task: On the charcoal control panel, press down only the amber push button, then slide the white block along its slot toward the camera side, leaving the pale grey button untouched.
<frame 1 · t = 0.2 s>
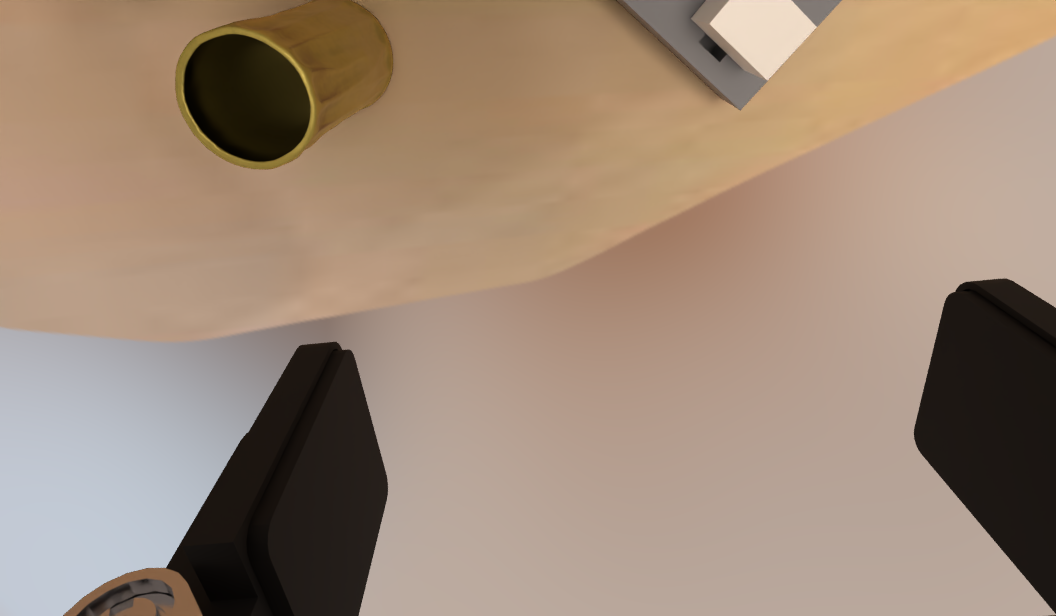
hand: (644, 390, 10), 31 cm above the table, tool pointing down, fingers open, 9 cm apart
white block: (742, 20, 32), point 4 cm above the table, slide at 0.0 cm
vase: (340, 55, 36), on the table
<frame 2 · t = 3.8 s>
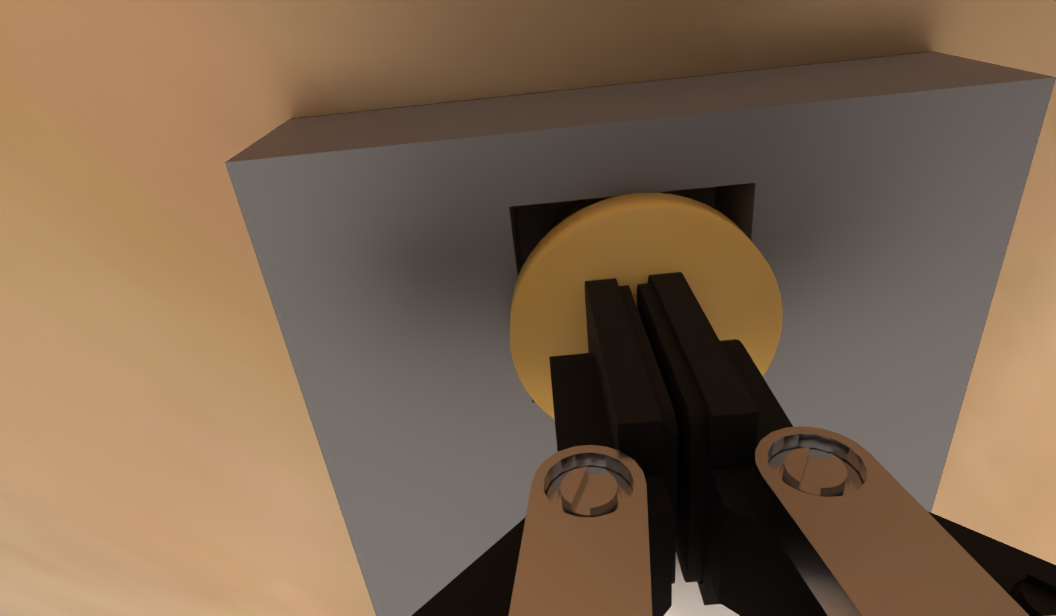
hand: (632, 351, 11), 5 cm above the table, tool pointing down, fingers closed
amber button: (631, 297, 13), point 3 cm above the table, slide at 1.3 cm, touching gripper
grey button: (646, 586, 15), point 5 cm above the table, slide at 0.0 cm
panel: (619, 454, 19), on the table
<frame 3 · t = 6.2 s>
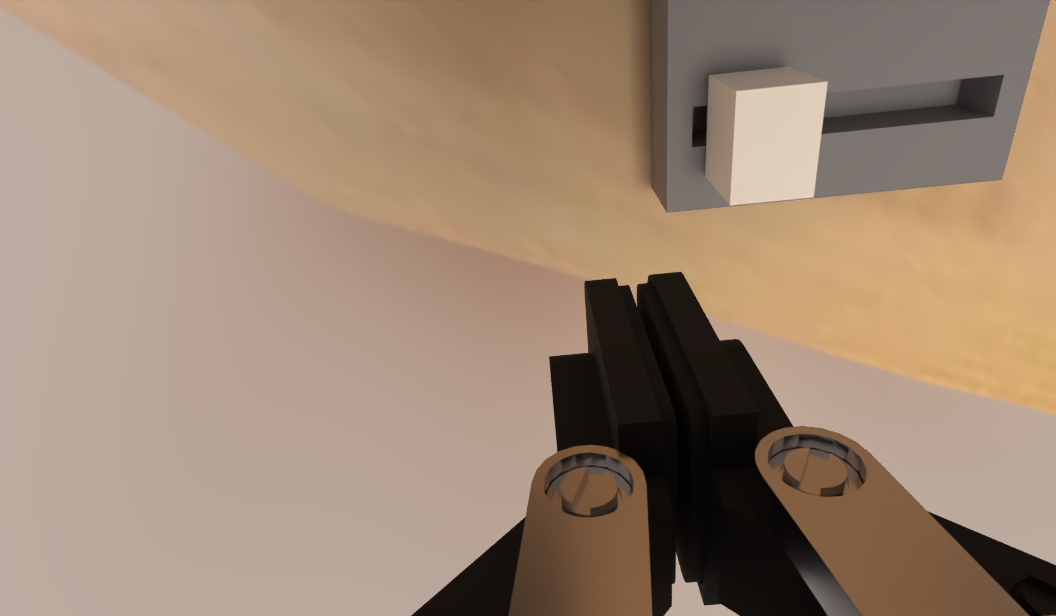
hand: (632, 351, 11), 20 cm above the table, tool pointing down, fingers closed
white block: (749, 126, 24), point 4 cm above the table, slide at 0.0 cm
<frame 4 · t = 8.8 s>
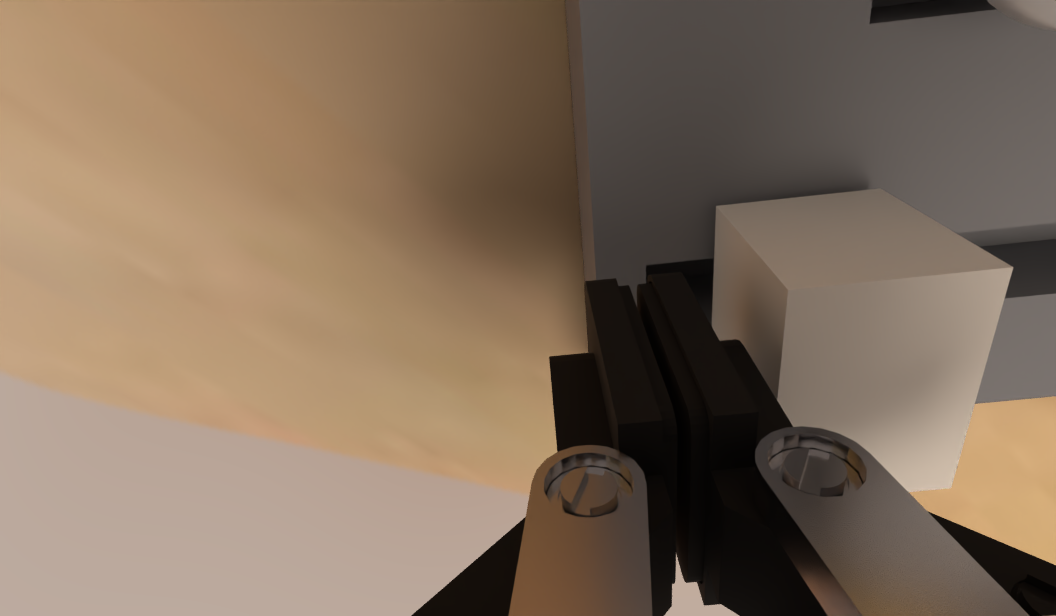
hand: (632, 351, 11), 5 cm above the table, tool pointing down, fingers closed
white block: (798, 305, 12), point 4 cm above the table, slide at 0.8 cm, touching gripper
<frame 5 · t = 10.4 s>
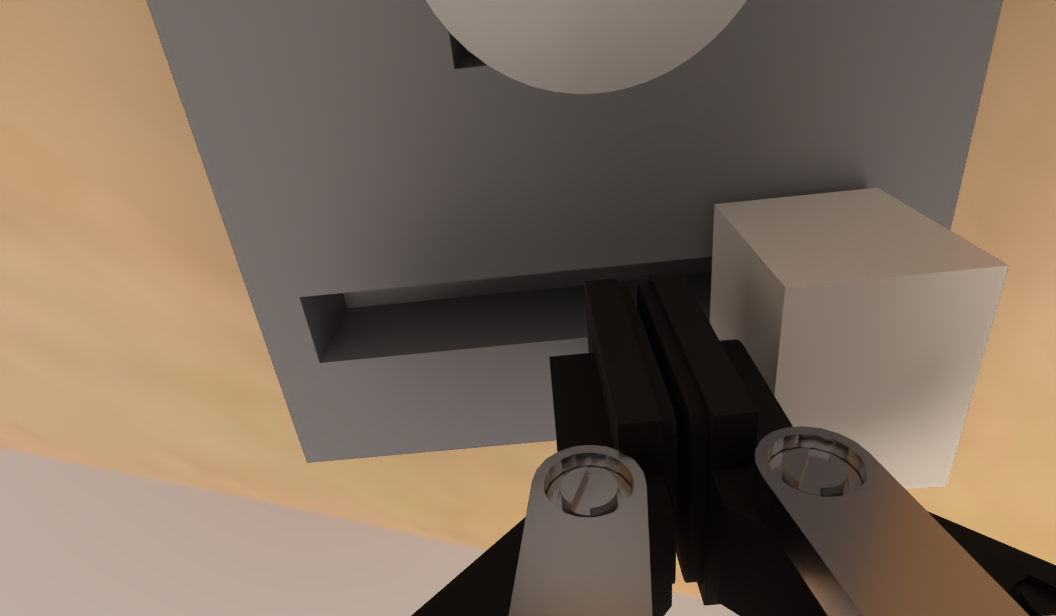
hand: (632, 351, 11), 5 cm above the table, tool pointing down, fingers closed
white block: (795, 303, 12), point 4 cm above the table, slide at 7.8 cm, touching gripper
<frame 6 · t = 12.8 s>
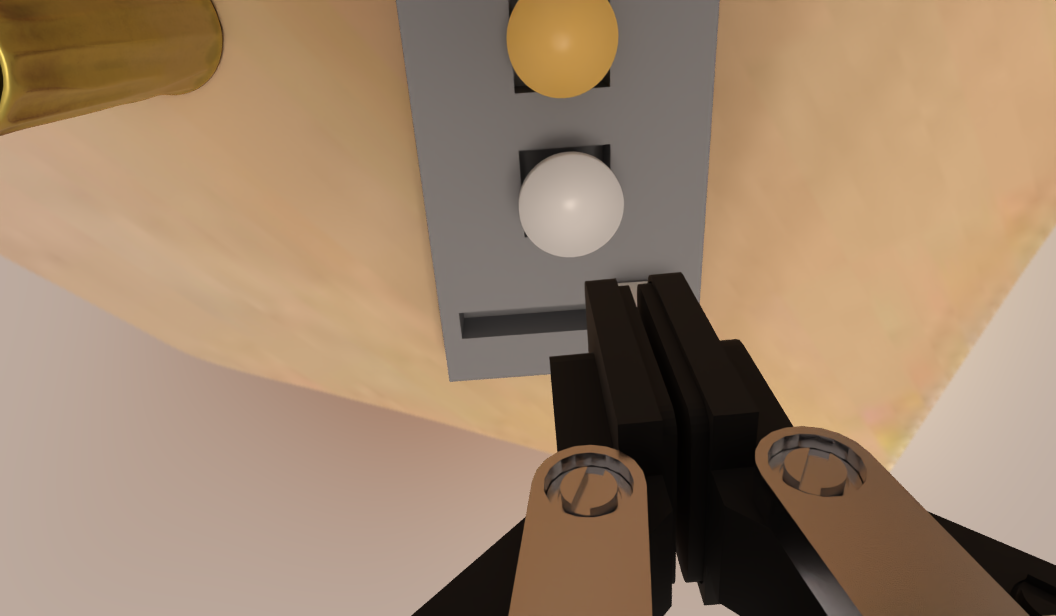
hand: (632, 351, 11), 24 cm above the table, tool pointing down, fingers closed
white block: (644, 319, 34), point 4 cm above the table, slide at 7.9 cm
amber button: (559, 37, 28), point 3 cm above the table, slide at 1.6 cm
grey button: (568, 198, 30), point 5 cm above the table, slide at 0.0 cm
vase: (160, 27, 30), on the table
panel: (560, 174, 34), on the table
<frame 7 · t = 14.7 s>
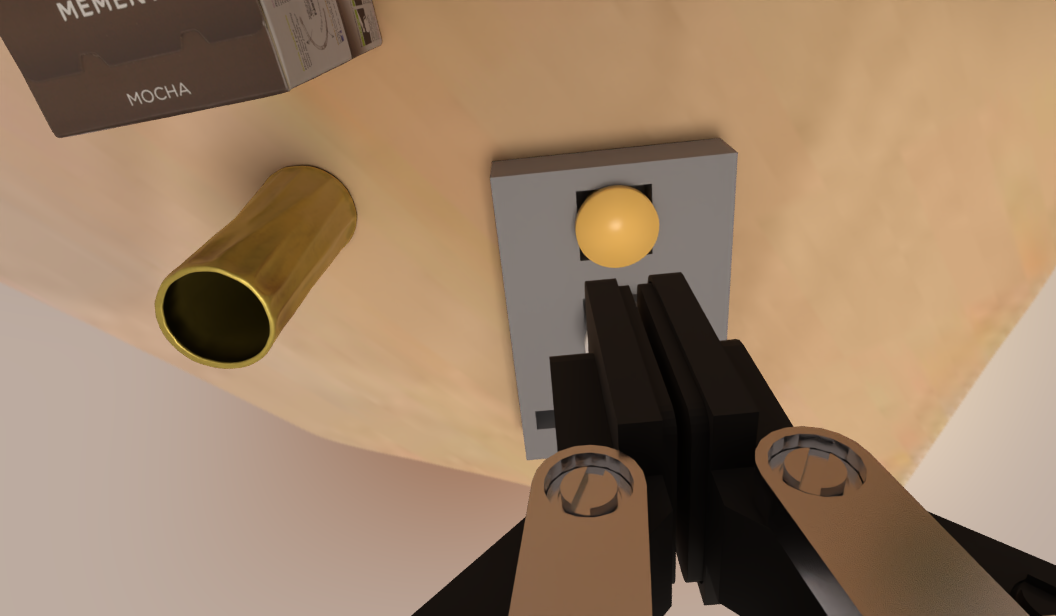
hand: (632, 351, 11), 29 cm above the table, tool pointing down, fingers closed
amber button: (613, 220, 38), point 3 cm above the table, slide at 1.6 cm
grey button: (621, 334, 40), point 5 cm above the table, slide at 0.0 cm
vase: (310, 210, 40), on the table
panel: (611, 300, 44), on the table
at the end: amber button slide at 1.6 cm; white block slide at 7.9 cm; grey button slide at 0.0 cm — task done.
